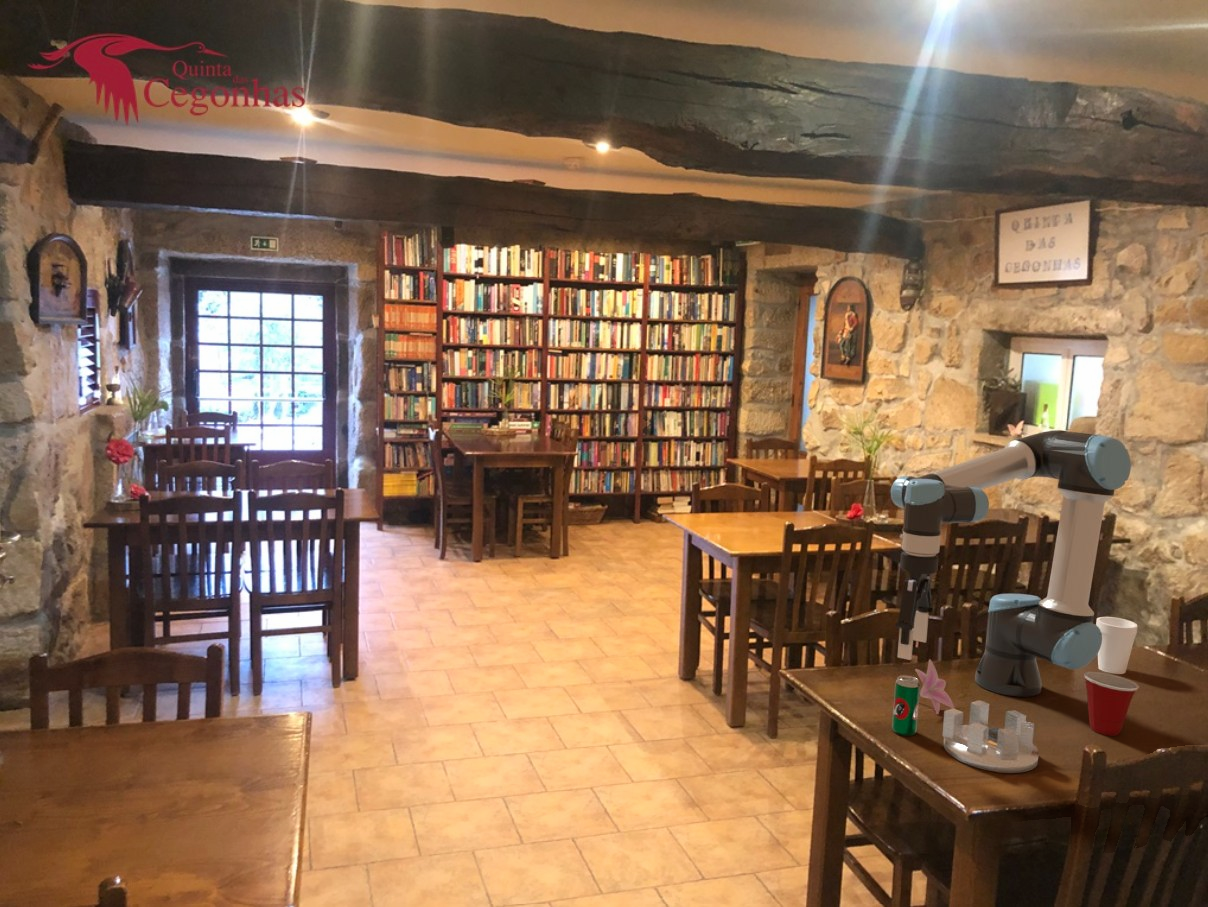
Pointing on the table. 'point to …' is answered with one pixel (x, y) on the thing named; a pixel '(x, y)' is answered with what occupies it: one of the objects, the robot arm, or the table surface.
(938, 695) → the lily
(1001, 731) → the round white pillared stand
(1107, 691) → the plastic cup
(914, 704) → the soda can
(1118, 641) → the foam cup
